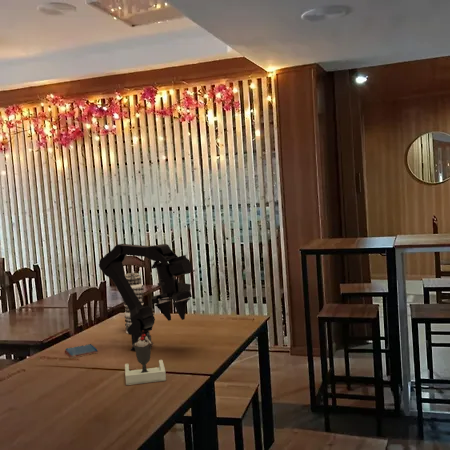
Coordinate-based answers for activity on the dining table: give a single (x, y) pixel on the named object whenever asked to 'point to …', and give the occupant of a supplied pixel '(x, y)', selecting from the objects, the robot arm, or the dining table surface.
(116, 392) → the dining table surface
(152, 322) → the robot arm
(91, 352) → the woven mat
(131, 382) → the end cap
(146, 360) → the sundae
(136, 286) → the decorative candle
